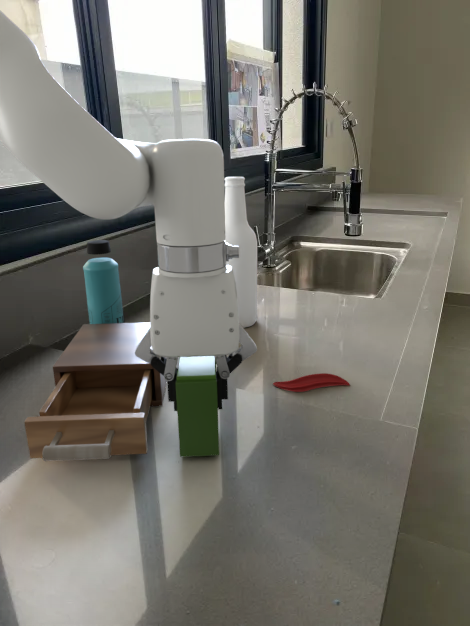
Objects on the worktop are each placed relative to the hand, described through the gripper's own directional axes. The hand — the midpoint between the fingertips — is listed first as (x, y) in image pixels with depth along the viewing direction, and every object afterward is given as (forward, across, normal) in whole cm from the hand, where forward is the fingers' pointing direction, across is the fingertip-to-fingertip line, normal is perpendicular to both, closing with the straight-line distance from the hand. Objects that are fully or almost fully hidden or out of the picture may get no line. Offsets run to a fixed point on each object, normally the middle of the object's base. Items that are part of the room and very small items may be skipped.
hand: (198, 403), depth 60 cm
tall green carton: (+5, 0, 0) cm, 5 cm away
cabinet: (+6, +13, -19) cm, 24 cm away
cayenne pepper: (+6, -17, -15) cm, 23 cm away
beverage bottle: (+6, +18, -35) cm, 40 cm away
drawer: (+5, +13, -3) cm, 14 cm away
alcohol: (+6, -7, -46) cm, 47 cm away
